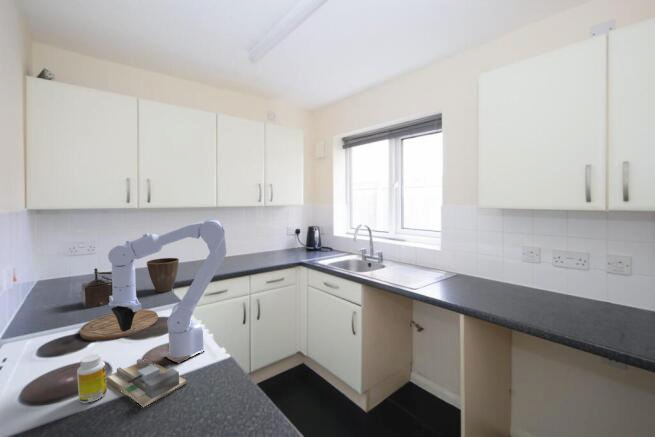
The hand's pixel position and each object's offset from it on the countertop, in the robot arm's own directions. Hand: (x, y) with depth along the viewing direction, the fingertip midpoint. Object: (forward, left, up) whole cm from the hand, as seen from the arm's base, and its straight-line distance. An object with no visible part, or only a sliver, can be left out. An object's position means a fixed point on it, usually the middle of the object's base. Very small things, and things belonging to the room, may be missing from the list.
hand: (125, 329), depth 92 cm
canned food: (-31, -88, -11) cm, 93 cm away
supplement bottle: (+12, +9, -11) cm, 19 cm away
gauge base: (+2, +14, -10) cm, 18 cm away
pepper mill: (-20, -68, -11) cm, 71 cm away
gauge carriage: (+3, +16, -9) cm, 19 cm away
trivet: (-12, -32, -11) cm, 36 cm away
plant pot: (-45, -61, -11) cm, 76 cm away
